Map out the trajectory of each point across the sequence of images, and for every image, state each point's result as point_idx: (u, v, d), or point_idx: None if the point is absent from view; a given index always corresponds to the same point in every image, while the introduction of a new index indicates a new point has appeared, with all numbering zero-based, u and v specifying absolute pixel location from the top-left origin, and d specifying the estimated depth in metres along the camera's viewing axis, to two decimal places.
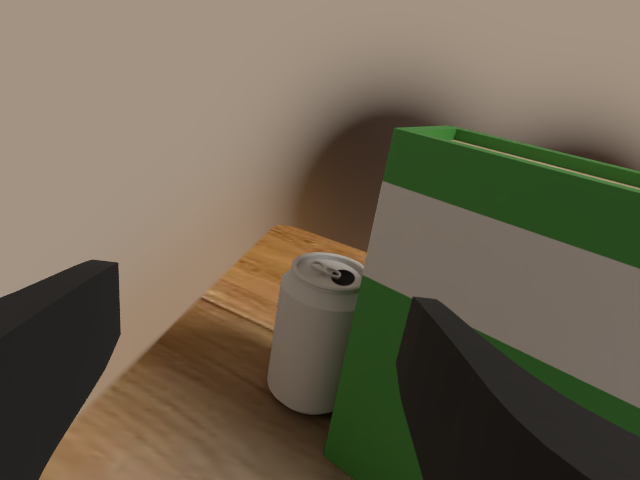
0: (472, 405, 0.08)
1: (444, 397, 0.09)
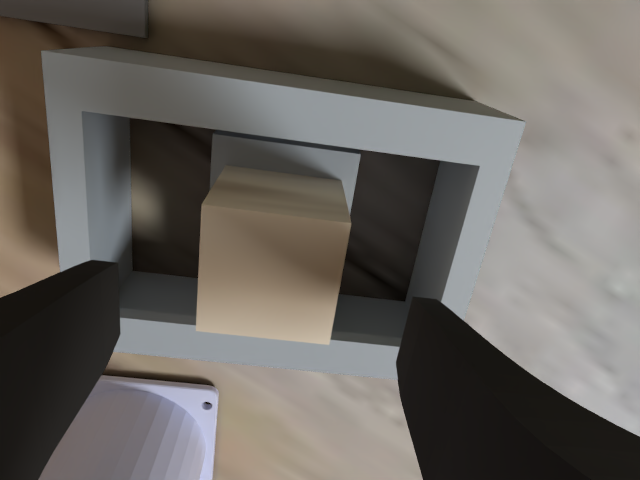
0: (472, 405, 0.08)
1: (444, 397, 0.09)
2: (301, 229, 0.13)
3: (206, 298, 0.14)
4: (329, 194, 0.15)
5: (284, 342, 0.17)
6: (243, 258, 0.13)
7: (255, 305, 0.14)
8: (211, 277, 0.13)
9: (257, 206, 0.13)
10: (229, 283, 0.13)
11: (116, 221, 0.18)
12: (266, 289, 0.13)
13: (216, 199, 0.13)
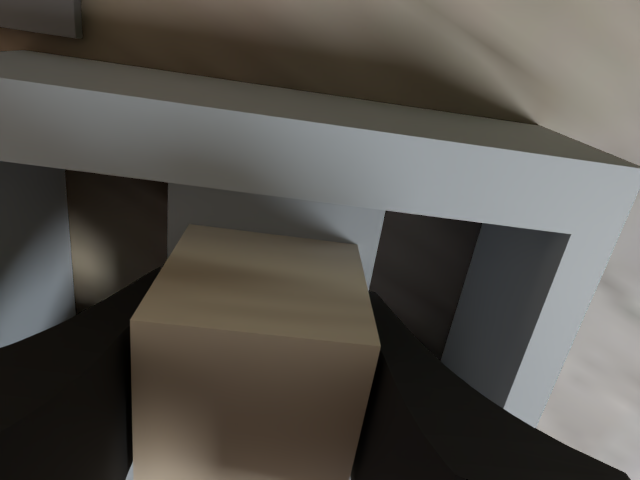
0: (383, 396, 0.08)
1: None
2: (298, 356, 0.08)
3: (147, 453, 0.08)
4: (341, 277, 0.10)
5: None
6: (203, 398, 0.08)
7: (225, 462, 0.09)
8: (153, 424, 0.08)
9: (227, 316, 0.08)
10: (183, 432, 0.08)
11: (44, 292, 0.13)
12: (242, 440, 0.08)
13: (158, 304, 0.08)
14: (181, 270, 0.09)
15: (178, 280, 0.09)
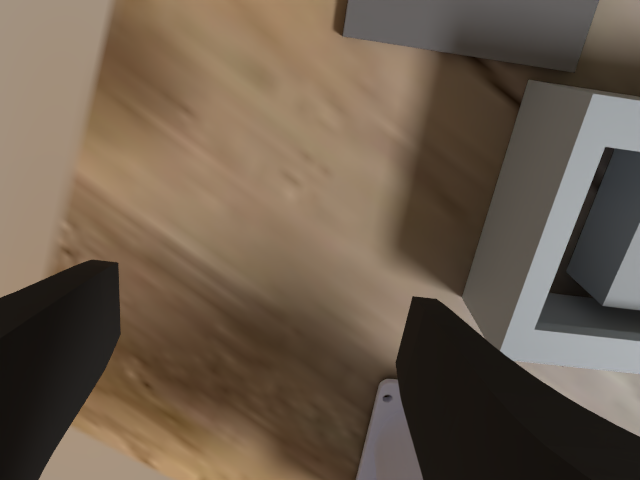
0: (472, 405, 0.08)
1: (444, 397, 0.09)
2: None
3: None
4: None
5: None
6: None
7: None
8: None
9: None
10: None
11: None
12: None
13: None
14: None
15: None
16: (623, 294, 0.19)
